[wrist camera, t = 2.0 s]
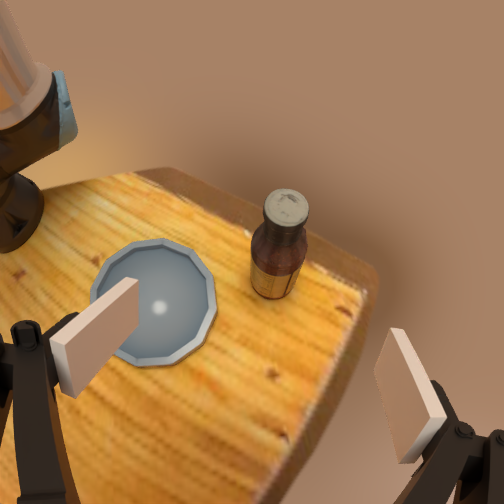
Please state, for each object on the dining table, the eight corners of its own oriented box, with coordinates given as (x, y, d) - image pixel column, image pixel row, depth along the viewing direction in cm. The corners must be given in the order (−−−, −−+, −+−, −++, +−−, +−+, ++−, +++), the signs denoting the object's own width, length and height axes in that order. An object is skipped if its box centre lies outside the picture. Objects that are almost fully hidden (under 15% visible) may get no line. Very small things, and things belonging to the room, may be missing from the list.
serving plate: (97, 252, 47) (92, 247, 45) (209, 238, 49) (208, 232, 47) (97, 369, 39) (91, 367, 38) (223, 360, 41) (222, 359, 39)
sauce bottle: (281, 254, 48) (305, 167, 30) (301, 290, 46) (340, 219, 28) (240, 271, 47) (242, 188, 29) (259, 309, 44) (274, 246, 26)
